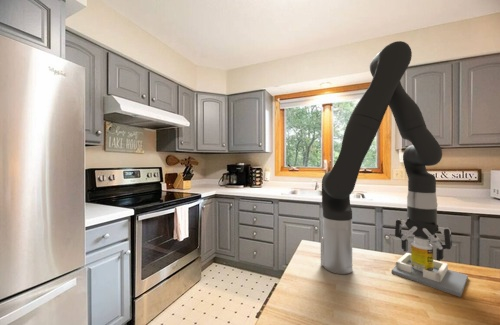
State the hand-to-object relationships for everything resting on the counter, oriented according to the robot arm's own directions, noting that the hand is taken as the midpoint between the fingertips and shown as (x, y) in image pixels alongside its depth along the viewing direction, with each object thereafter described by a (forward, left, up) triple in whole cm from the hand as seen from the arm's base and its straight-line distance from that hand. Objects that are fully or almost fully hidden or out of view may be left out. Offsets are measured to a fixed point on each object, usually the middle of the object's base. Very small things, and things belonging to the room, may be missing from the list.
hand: (421, 255), depth 70 cm
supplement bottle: (0, 0, -5) cm, 5 cm away
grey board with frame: (+2, -1, -5) cm, 6 cm away
